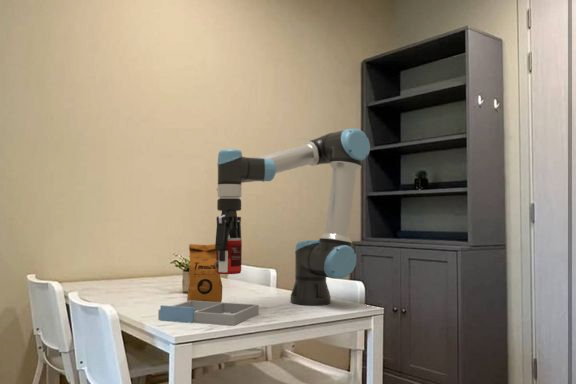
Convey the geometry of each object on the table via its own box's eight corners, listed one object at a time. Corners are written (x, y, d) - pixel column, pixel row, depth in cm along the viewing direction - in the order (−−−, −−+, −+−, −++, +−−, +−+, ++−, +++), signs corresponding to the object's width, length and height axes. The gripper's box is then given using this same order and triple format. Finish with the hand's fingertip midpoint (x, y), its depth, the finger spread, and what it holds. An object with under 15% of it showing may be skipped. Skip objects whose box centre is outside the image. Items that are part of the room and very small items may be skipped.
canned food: (216, 271, 167) (216, 237, 168) (241, 271, 168) (241, 237, 168) (215, 274, 160) (215, 238, 160) (241, 274, 160) (241, 238, 161)
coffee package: (221, 308, 181) (222, 244, 182) (185, 308, 180) (186, 244, 181) (222, 303, 191) (223, 243, 192) (188, 303, 190) (189, 243, 191)
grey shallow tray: (258, 314, 170) (258, 300, 171) (232, 326, 151) (232, 310, 151) (189, 309, 178) (190, 296, 178) (157, 320, 158) (157, 305, 159)
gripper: (231, 199, 176) (231, 267, 175) (203, 197, 156) (202, 273, 155) (252, 199, 173) (251, 268, 172) (226, 196, 154) (226, 274, 153)
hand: (228, 270), depth 164 cm, fingers closed on canned food, 8 cm apart
